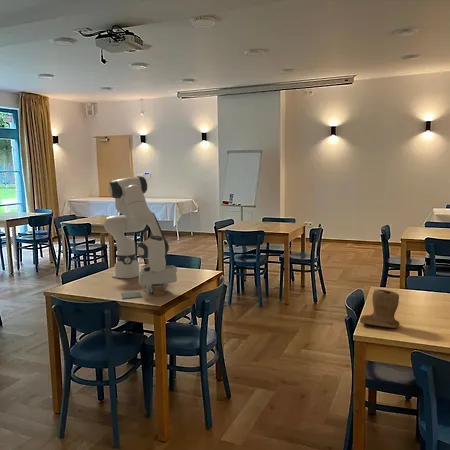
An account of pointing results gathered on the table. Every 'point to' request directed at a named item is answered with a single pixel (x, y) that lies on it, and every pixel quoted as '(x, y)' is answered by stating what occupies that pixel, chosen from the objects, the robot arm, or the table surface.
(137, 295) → the slate mat
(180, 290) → the table surface
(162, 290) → the lettered cube
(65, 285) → the table surface
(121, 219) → the robot arm
